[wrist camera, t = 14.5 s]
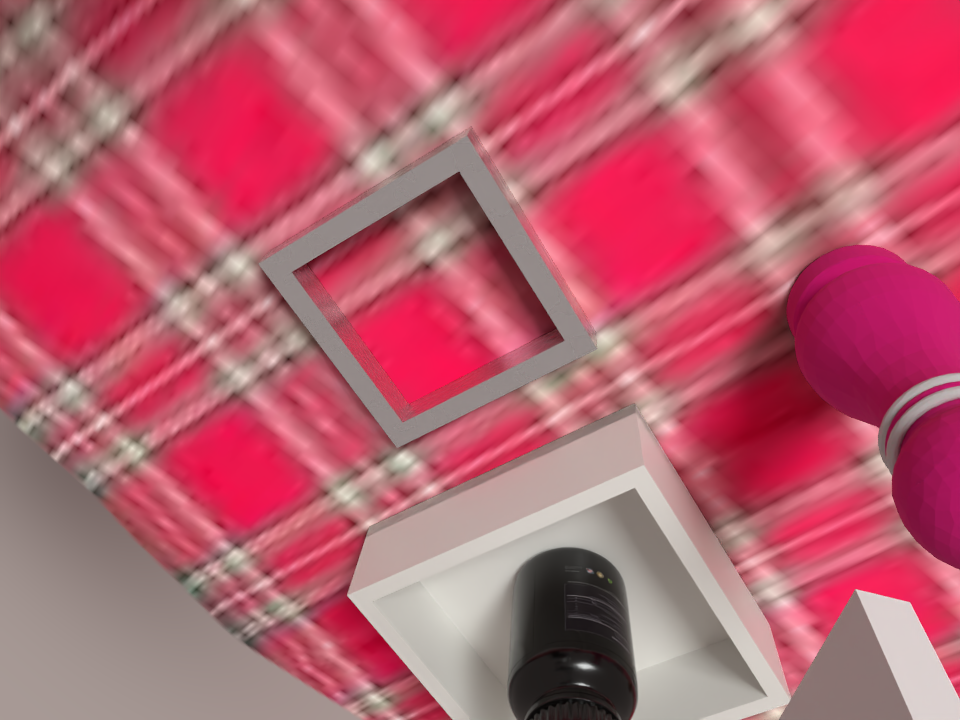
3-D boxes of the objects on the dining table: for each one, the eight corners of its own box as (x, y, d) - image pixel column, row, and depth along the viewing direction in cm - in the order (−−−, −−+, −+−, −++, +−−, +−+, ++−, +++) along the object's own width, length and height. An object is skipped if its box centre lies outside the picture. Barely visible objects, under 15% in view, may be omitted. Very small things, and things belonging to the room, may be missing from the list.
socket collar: (270, 250, 44) (258, 263, 42) (471, 126, 40) (467, 135, 38) (403, 428, 48) (397, 447, 47) (596, 332, 45) (597, 348, 43)
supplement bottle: (590, 644, 53) (597, 823, 43) (494, 601, 52) (476, 773, 42) (649, 571, 50) (672, 744, 40) (548, 524, 49) (543, 688, 39)
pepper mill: (819, 390, 45) (986, 692, 27) (748, 288, 43) (879, 545, 25) (952, 316, 42) (1230, 595, 25) (883, 204, 40) (1135, 422, 22)
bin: (369, 526, 52) (346, 595, 46) (634, 403, 46) (643, 464, 41) (519, 713, 58) (514, 792, 53) (769, 623, 52) (792, 702, 47)
